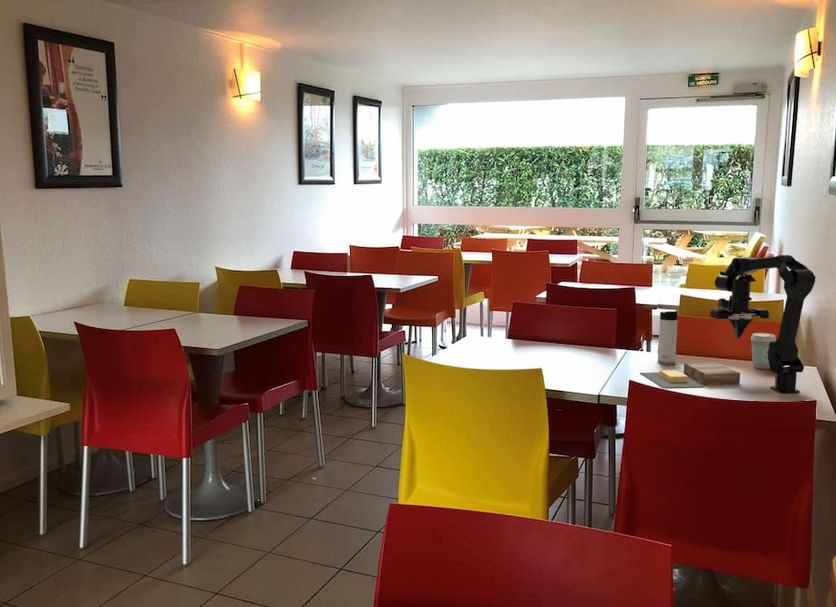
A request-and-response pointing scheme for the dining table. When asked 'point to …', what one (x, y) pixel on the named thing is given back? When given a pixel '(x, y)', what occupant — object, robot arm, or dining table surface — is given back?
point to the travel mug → (667, 337)
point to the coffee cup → (761, 349)
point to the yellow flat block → (673, 376)
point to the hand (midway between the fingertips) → (738, 338)
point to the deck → (711, 374)
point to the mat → (665, 384)
